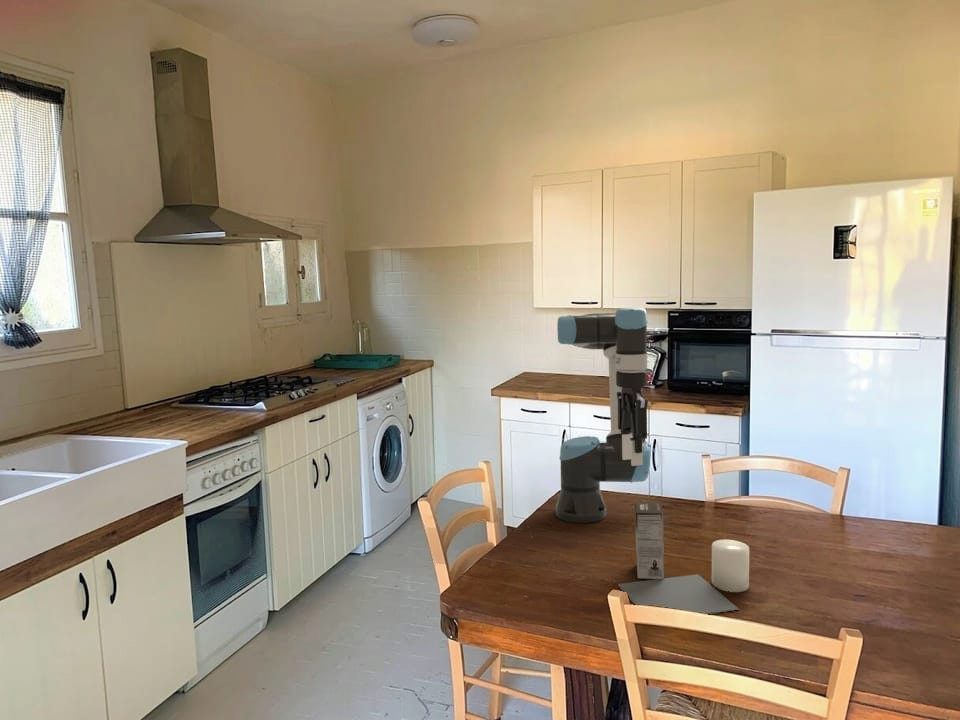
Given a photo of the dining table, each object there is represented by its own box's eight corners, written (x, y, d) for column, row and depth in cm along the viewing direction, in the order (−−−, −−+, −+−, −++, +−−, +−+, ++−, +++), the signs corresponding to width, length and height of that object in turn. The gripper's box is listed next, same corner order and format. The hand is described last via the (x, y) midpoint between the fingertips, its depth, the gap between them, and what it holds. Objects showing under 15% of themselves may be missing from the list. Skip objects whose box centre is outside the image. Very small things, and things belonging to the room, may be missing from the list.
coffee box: (635, 563, 162) (634, 500, 161) (662, 564, 160) (661, 501, 159) (637, 578, 153) (635, 512, 152) (665, 580, 152) (663, 512, 150)
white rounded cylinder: (705, 578, 153) (705, 541, 152) (736, 574, 154) (736, 538, 153) (723, 594, 145) (723, 555, 144) (756, 589, 146) (756, 551, 145)
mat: (618, 585, 151) (618, 584, 150) (697, 575, 154) (697, 574, 154) (650, 622, 134) (650, 620, 134) (738, 610, 137) (738, 608, 137)
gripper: (603, 367, 169) (605, 454, 172) (631, 376, 151) (632, 473, 154) (631, 365, 170) (631, 452, 173) (662, 374, 153) (662, 470, 155)
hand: (632, 461), depth 164 cm, fingers open, 5 cm apart
